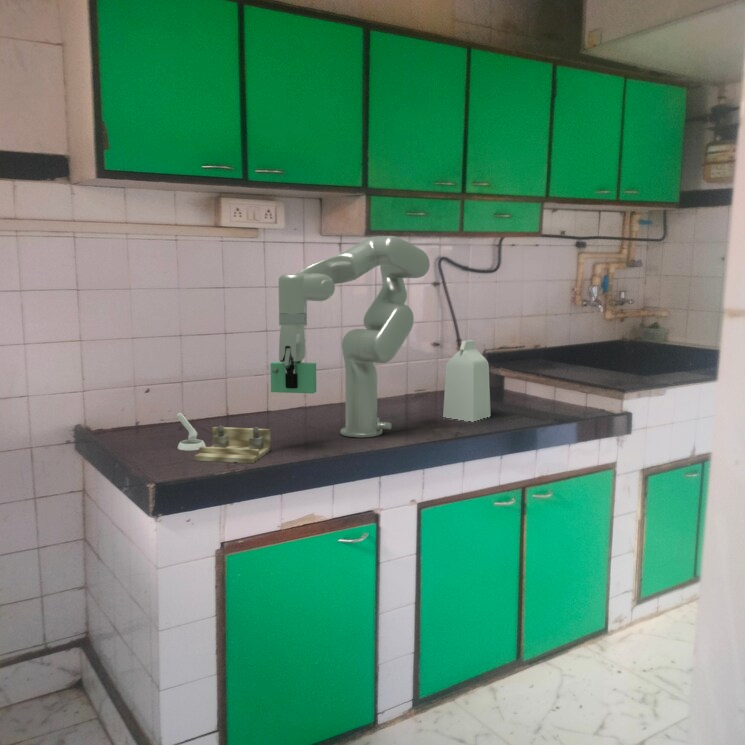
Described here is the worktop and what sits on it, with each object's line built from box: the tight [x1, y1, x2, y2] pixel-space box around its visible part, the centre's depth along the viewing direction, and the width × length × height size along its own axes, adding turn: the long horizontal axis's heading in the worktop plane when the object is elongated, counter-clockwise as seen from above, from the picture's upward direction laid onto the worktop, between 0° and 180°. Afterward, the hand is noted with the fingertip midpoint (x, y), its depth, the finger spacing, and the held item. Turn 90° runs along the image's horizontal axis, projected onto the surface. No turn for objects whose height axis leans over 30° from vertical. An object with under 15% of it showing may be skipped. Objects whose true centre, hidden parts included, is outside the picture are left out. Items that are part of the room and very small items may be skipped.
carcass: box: [193, 424, 272, 464], centre depth 191 cm, size 16×14×7 cm
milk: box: [442, 339, 491, 423], centre depth 243 cm, size 12×12×26 cm
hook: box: [176, 412, 207, 451], centre depth 201 cm, size 8×12×7 cm
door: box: [270, 361, 317, 394], centre depth 198 cm, size 12×4×8 cm, turn 80°
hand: (293, 386), depth 198 cm, fingers closed on door, 3 cm apart
